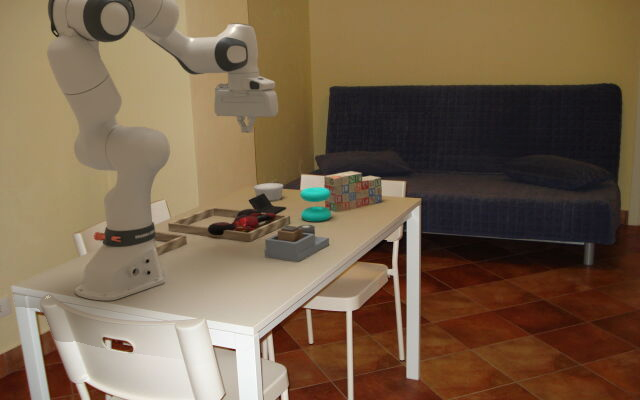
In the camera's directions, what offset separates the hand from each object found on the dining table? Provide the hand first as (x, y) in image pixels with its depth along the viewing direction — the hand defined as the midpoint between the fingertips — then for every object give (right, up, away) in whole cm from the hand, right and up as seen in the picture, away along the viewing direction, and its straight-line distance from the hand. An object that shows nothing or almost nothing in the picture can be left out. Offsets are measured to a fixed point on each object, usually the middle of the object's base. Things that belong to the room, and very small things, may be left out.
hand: (247, 132), depth 187 cm
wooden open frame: (-9, -28, +26) cm, 40 cm away
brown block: (+13, -33, -5) cm, 35 cm away
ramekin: (+1, -19, +65) cm, 68 cm away
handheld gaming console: (+2, -24, +45) cm, 51 cm away
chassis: (+15, -34, -1) cm, 37 cm away
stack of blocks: (+33, -22, +49) cm, 63 cm away
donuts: (+20, -26, +33) cm, 46 cm away
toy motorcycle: (-3, -29, +23) cm, 37 cm away
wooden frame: (-31, -33, +8) cm, 46 cm away
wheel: (+17, -30, +2) cm, 34 cm away
